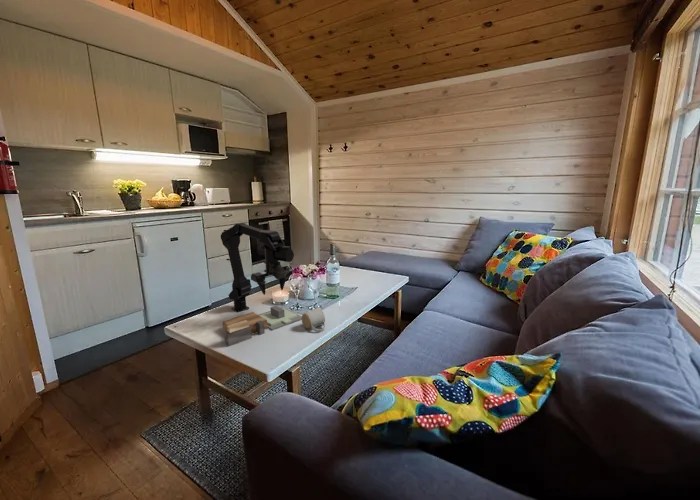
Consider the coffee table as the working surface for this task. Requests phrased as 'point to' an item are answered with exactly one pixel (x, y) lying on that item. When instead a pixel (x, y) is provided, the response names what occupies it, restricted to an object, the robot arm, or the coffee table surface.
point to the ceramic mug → (314, 319)
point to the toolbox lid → (278, 316)
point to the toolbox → (255, 326)
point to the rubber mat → (282, 322)
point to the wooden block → (237, 326)
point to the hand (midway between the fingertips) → (273, 292)
